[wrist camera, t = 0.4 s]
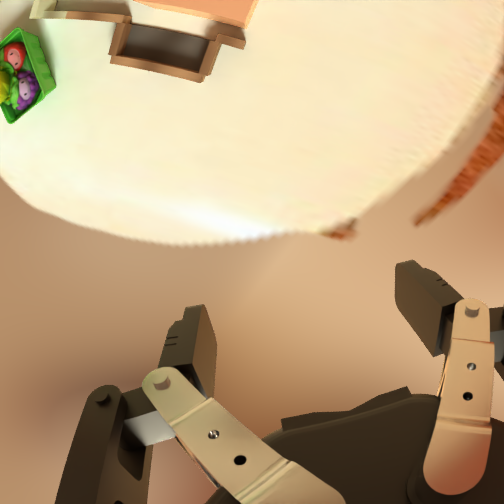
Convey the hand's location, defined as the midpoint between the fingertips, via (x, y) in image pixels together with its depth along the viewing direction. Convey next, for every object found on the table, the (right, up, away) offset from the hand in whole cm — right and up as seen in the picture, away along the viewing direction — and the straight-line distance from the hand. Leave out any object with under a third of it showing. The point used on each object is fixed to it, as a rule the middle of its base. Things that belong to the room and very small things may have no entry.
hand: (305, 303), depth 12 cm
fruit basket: (-32, +26, +17) cm, 45 cm away
